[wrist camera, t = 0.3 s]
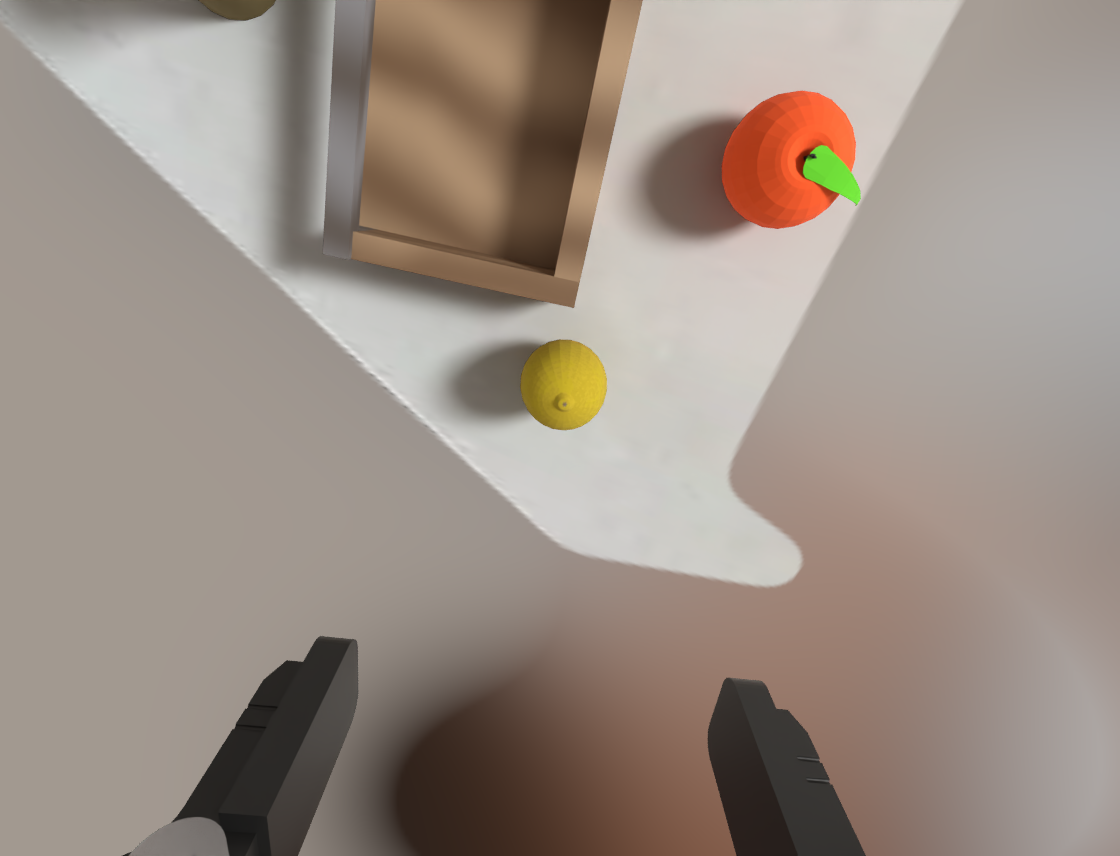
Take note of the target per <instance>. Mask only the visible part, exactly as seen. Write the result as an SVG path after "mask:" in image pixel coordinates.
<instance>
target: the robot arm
mask: <svg viewBox="0 0 1120 856" xmlns="http://www.w3.org/2000/svg"><path fill="white" fill-rule="evenodd" d="M357 699H358V647H357V641H356V640H354V639H344V638H334V637H324V636H320V637H318V638H317V639H316V641H315V642H314V644H313V646H312V647H311V649H310V651H309V653H308V654H307V656H306V658H305V660H304V662H298V661H288V660H287V661H285V662H284V663H283V664H282V665H281V666H280V667H278V668H277V669H276V670H275V671H274V672H272V673H271V674H270V675H269V676H268V677H266V678H265V679H264V680H263V682H262V683H261V685H260V686H259V688H258V690H257V691H256V693H255V694H254V696H253V698H252V699H251V701H250V703H249V704H248V708H247V709H245V711H244V712H243V714H242V715H241V717H240V718H239V720H238V721H237V723H236V727H235V729H233V730H232V731H231V733H230V734H229V736H228V738H227V739H226V741H225V742H224V744H223V745H222V747H221V749H220V750H219V752H218V753H217V755H216V756H215V758H214V760H213V761H212V763H211V764H210V766H209V768H208V769H207V771H206V773H205V774H204V776H203V777H202V779H201V781H200V782H199V784H198V785H197V787H196V788H195V790H194V792H193V793H192V795H191V796H190V798H189V800H188V801H187V803H186V805H185V806H184V807H183V809H182V810H181V812H180V813H179V814H178V816H177V817H176V818H175V819H174V820H173V821H172V822H171V823H170V824H168V825H166V826H164V827H162V828H160V829H158V830H157V831H155V832H154V833H152V834H151V835H150V836H149V837H147V838H146V839H145V840H143V841H142V842H141V843H140V844H139V845H138V846H137V847H136V848H135V849H134V850H133V851H132V852H130V853H128V854H125V855H123V856H298V854H299V852H300V849H301V847H302V844H303V842H304V839H305V837H306V834H307V832H308V829H309V827H310V824H311V822H312V819H313V817H314V815H315V812H316V810H317V807H318V805H319V802H320V800H321V797H322V795H323V792H324V790H325V787H326V785H327V782H328V780H329V777H330V775H331V772H332V770H333V768H334V765H335V763H336V760H337V758H338V755H339V753H340V750H341V748H342V745H343V743H344V740H345V738H346V735H347V733H348V730H349V728H350V725H351V723H352V720H353V717H354V713H355V709H356V705H357ZM708 750H709V756H710V761H711V764H712V768H713V772H714V775H715V779H716V783H717V786H718V790H719V793H720V797H721V801H722V804H723V808H724V812H725V815H726V819H727V823H728V826H729V830H730V834H731V837H732V841H733V844H734V848H735V852H736V855H737V856H866V855H865V853H864V851H863V849H862V847H861V845H860V843H859V840H858V838H857V836H856V834H855V832H854V830H853V828H852V826H851V823H850V822H849V819H848V817H847V815H846V813H845V811H844V809H843V807H842V804H841V802H840V800H839V798H838V796H837V794H836V792H835V790H834V788H833V786H832V785H830V783H829V777H828V775H827V773H826V771H825V769H824V767H823V764H822V763H820V762H819V756H818V754H817V752H816V750H815V748H814V745H813V743H812V741H811V739H810V737H809V735H808V733H807V732H806V731H805V729H804V728H803V727H802V726H801V725H800V724H799V722H798V721H797V720H796V719H795V718H794V717H793V716H792V715H791V713H790V712H789V711H788V710H783V709H776V707H775V705H774V703H773V700H772V698H771V696H770V693H769V691H768V689H767V687H766V685H765V684H764V683H763V682H762V681H756V680H747V679H736V678H726V679H725V680H724V682H723V685H722V688H721V691H720V694H719V697H718V700H717V703H716V706H715V709H714V712H713V715H712V718H711V722H710V725H709V729H708Z"/></svg>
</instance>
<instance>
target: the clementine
mask: <svg viewBox="0 0 1120 856" xmlns="http://www.w3.org/2000/svg"><path fill="white" fill-rule="evenodd" d="M855 147H856V142H855V137H854V132H853V127H852V125H851V123H850V122H849V120H848V118H847V116H846V114H845V113H844V112H843V111H842V110H841V109H840V108H839V107H838V106H837V105H836V104H835V103H834V102H833V101H832V100H831V99H829V98H827V97H825V96H823V95H821V94H819V93H814V92H807V91H796V92H790V93H784V94H778V95H776V96H774V97H771V98H769V99H767V100H765V101H763V102H761V103H760V104H759V105H757V106H756V107H755V108H754V109H753V110H751V111H750V112H749V113H748V114H747V115H746V116H745V117H744V118H743V119H742V121H741V122H740V123H739V125H738V126H737V127H736V129H735V130H734V131H733V133H732V135H731V137H730V139H729V141H728V144H727V146H726V148H725V152H724V157H723V162H722V183H723V186H724V190H725V193H726V197H727V198H728V200H729V202H730V203H731V205H732V206H733V208H734V209H735V210H736V211H737V212H738V213H739V214H740V215H741V216H742V217H744V218H745V219H746V220H748V221H750V222H753V223H755V224H757V225H759V226H762V227H767V228H775V229H779V228H786V227H792V226H796V225H799V224H802V223H804V222H806V221H809V220H811V219H813V218H815V217H816V216H818V215H819V214H820V213H822V212H823V211H824V210H826V209H827V208H828V207H829V206H830V205H831V204H832V203H833V201H834V200H835V199H836V198H837V197H838V196H839V194H841V195H843V196H844V197H846V198H848V199H850V200H851V201H853V202H854V203H856V205H857V204H858V202H859V201H860V199H861V198H860V189H859V187H858V184H857V182H856V180H855V178H854V176H853V175H852V173H851V171H852V168H853V164H854V161H855ZM856 205H855V206H856Z"/></svg>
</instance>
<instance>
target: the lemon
mask: <svg viewBox="0 0 1120 856" xmlns="http://www.w3.org/2000/svg"><path fill="white" fill-rule="evenodd" d="M520 388H521V393H522V399H523V401H524V403H525V405H526V407H527V410H528V411H529V412H530V413H531V415H532V416H533V417H534V418H535V419H536V420H537V421H539V422H540V423H541V424H543V425H545V426H547V427H550V428H552V429H558V430H570V429H575V428H578V427H581V426H583V425H584V424H586V423H587V422H589V421H590V420H591V419H592V418H593V417H594V416H595V415H596V414H597V413H598V411H599V410H600V408H601V406H602V404H603V402H604V399H605V395H606V391H607V378H606V374H605V370H604V367H603V365H602V363H601V361H600V360H599V358H598V356H597V355H596V354H595V353H594V352H593V351H592V350H591V349H590V348H588V347H586V346H585V345H583V344H581V343H579V342H576V341H572V340H555V341H551V342H548V343H546V344H544V345H542V346H540V347H539V348H538V349H537V350H536V351H534V352H533V353H532V354H531V356H530V357H529V359H528V360H527V361H526V363H525V365H524V368H523V371H522V374H521V384H520Z"/></svg>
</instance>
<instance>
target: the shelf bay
mask: <svg viewBox="0 0 1120 856" xmlns="http://www.w3.org/2000/svg"><path fill="white" fill-rule="evenodd" d="M642 1H643V0H336V6H335V25H334V45H333V64H332V84H331V103H330V123H329V142H328V162H327V181H326V201H325V220H324V239H323V254H325V255H329V256H334V257H338V258H343V259H347V260H349V259H354V260H358V261H363V262H367V263H372V264H376V265H381V266H386V267H390V268H395V269H399V270H404V271H408V272H413V273H417V274H422V275H427V276H431V277H436V278H440V279H445V280H449V281H454V282H458V283H463V284H467V285H472V286H477V287H481V288H486V289H490V290H495V291H499V292H504V293H508V294H513V295H518V296H522V297H527V298H531V299H536V300H540V301H545V302H549V303H554V304H559V305H563V306H568V307H572V308H574V305H575V300H576V296H577V291H578V287H579V282H580V278H581V273H582V269H583V265H584V260H585V256H586V251H587V247H588V242H589V238H590V233H591V229H592V224H593V220H594V215H595V211H596V207H597V202H598V198H599V193H600V189H601V184H602V180H603V175H604V171H605V166H606V162H607V157H608V153H609V149H610V144H611V140H612V135H613V131H614V126H615V122H616V117H617V113H618V108H619V104H620V99H621V95H622V90H623V86H624V82H625V77H626V73H627V68H628V64H629V59H630V55H631V50H632V46H633V41H634V37H635V32H636V28H637V24H638V19H639V15H640V10H641V6H642Z"/></svg>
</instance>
